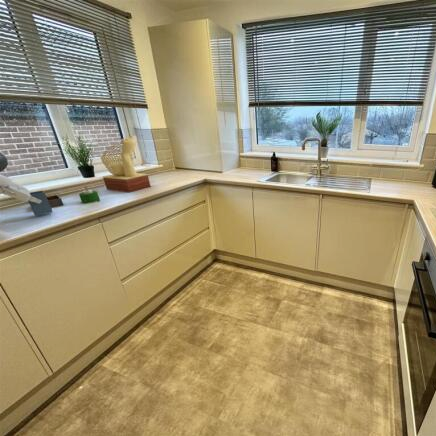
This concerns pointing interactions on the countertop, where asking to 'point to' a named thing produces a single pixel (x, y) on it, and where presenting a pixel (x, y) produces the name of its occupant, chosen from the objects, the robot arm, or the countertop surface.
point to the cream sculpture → (123, 169)
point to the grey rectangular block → (43, 206)
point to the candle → (89, 196)
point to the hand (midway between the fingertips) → (39, 200)
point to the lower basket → (55, 201)
